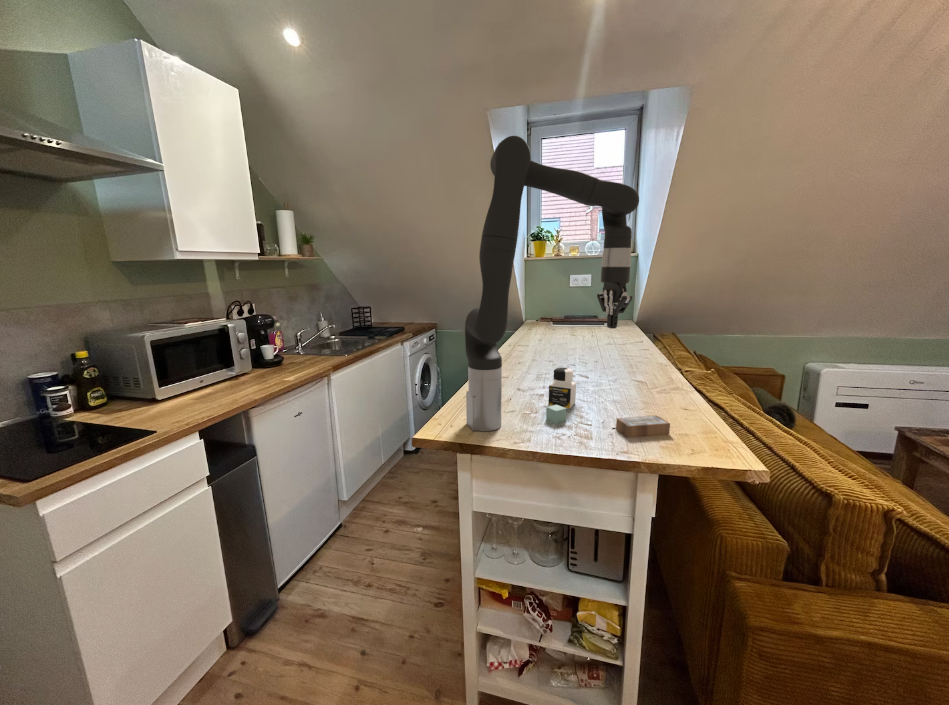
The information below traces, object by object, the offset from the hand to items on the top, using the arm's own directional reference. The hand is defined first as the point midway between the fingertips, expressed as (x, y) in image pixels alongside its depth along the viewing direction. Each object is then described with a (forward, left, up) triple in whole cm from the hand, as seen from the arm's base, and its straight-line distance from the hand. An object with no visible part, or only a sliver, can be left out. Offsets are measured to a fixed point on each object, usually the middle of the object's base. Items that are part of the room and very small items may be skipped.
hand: (611, 327), depth 114 cm
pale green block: (-15, +3, -27) cm, 31 cm away
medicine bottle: (-6, +15, -27) cm, 32 cm away
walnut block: (-3, -11, -26) cm, 28 cm away
